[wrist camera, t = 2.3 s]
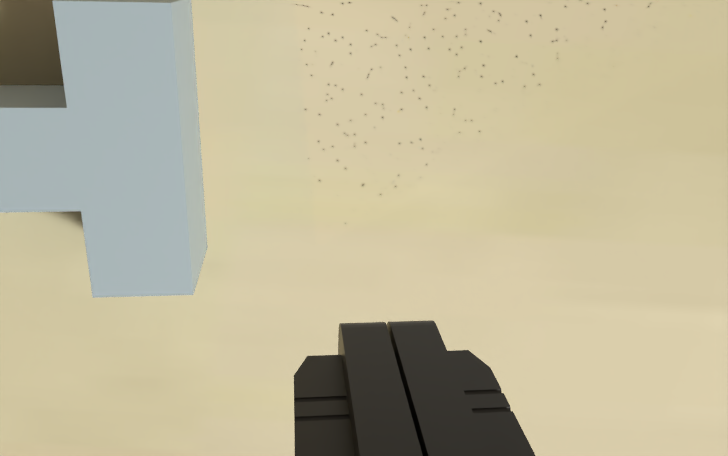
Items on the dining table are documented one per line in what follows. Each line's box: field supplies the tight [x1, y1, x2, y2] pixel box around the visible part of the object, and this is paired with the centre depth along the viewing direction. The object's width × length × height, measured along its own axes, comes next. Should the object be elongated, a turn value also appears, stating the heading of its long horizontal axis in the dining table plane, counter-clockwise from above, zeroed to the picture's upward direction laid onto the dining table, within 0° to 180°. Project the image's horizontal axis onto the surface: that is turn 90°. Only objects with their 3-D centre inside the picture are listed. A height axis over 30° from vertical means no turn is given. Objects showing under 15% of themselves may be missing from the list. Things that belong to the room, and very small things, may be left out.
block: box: [0, 0, 207, 297], centre depth 24 cm, size 10×10×4 cm
